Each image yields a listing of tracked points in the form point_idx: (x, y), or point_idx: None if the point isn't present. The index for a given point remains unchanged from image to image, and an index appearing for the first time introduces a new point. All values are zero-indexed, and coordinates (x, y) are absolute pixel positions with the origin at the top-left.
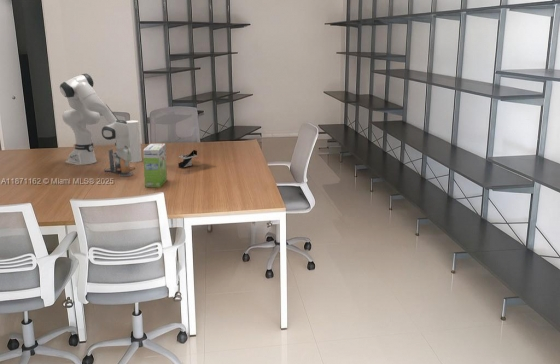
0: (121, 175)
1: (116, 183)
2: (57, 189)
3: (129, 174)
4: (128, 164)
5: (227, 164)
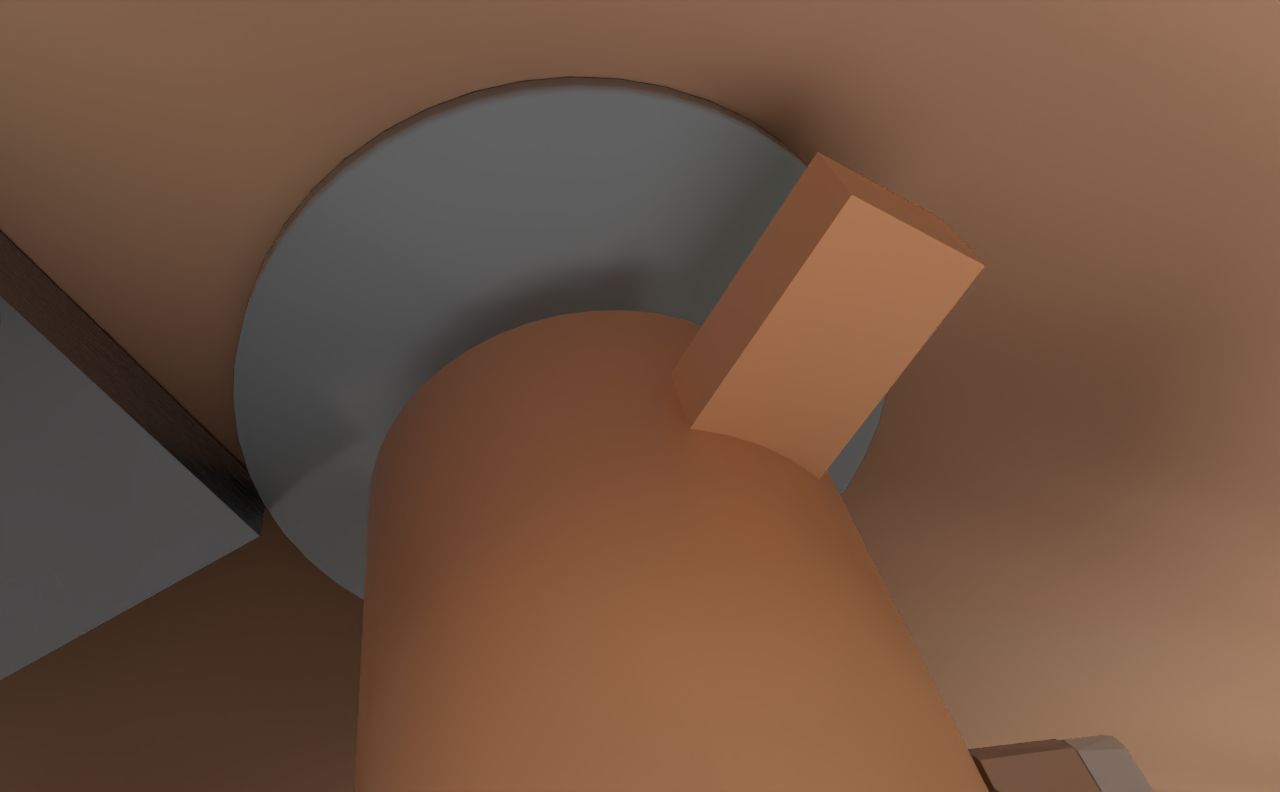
0: None
1: (1257, 783)
2: None
3: None
4: (959, 737)
5: None
